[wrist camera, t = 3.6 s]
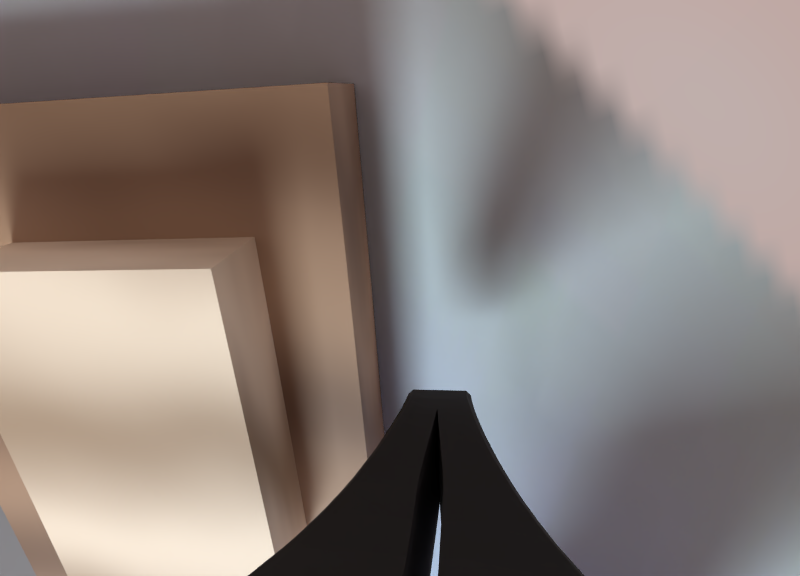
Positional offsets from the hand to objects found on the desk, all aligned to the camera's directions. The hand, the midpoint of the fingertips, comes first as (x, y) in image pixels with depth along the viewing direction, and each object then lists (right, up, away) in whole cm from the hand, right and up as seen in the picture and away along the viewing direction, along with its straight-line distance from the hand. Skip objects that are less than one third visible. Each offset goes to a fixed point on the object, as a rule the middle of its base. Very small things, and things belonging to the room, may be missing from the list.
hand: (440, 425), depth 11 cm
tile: (-7, 0, +1) cm, 7 cm away
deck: (-8, +1, +4) cm, 9 cm away
